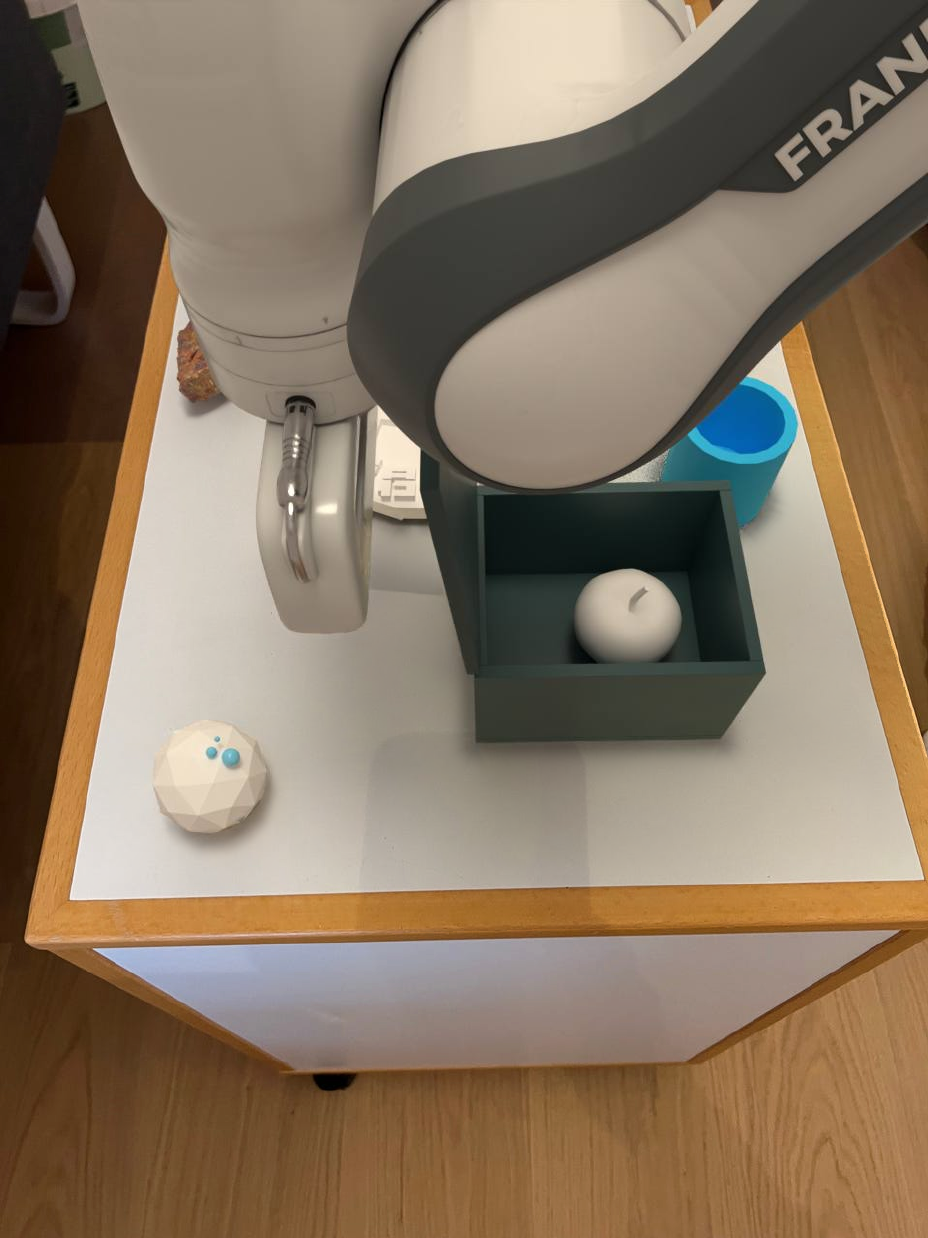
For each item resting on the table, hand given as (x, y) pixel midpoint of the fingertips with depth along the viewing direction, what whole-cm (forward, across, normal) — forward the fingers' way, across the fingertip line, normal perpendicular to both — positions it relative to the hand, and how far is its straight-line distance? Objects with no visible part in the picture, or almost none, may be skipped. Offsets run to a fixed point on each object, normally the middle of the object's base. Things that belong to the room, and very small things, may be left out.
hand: (353, 513), depth 47 cm
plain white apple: (+17, 0, -17) cm, 24 cm away
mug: (+18, +16, -26) cm, 35 cm away
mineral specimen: (+18, +28, +13) cm, 36 cm away
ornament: (+18, -10, +10) cm, 23 cm away
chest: (+18, 0, -15) cm, 23 cm away
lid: (-2, 0, -6) cm, 6 cm away
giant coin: (+18, +21, -3) cm, 28 cm away
